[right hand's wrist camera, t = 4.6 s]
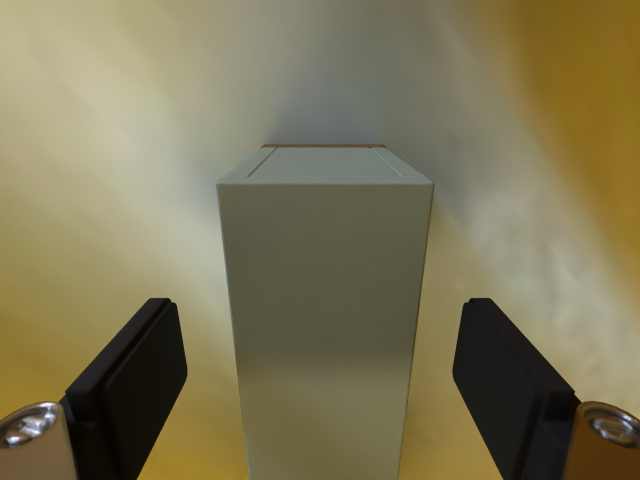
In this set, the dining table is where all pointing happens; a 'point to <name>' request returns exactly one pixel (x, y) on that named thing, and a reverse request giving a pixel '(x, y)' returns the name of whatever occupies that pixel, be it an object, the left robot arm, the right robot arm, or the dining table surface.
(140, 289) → the dining table surface
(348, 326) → the cabinet
